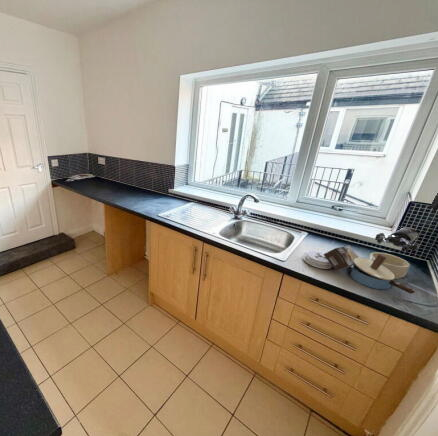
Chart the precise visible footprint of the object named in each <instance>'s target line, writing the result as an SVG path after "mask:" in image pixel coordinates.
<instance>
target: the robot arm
mask: <svg viewBox="0 0 438 436" xmlns="http://www.w3.org/2000/svg"><path fill="white" fill-rule="evenodd" d="M431 206H432V208H433V210H434V211H436V209H437V208H438V193H437V195H436V196H435V198H434V200H433V202H432V205H431ZM417 237H418V232H417V231H416V230H415V229H414V228H412V227H403V228H401V229H400V230H398V229H397V230H395V231H394V232H392V233H391V234H390V235H385V233H383V232H380V233H377V234H376V235H375V238H374V240H375V241H376V243H377V244H381V243H385V244H392V245H393V246H395V247H398V248H402V249H401V251H404V252H405V251H409V250H411V251H412V252H416V251H417V250H418V249H419V247H420V244H421V243H420V242H416V240H415V239H416V238H417ZM414 241H415V242H414Z"/></svg>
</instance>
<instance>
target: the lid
mask: <svg viewBox="0 0 438 436" xmlns="http://www.w3.org/2000/svg"><path fill="white" fill-rule="evenodd" d="M325 253H326V252H323V251H319V250H313V249H311V250H306V251H305V252H304V256H303V261H304V262H305V263H306V264H308V265H310V266H312V267H314V268H317V269H323V270H330V269H333V267H332V265H331V264H330V263H329V261H328V260H327V259H326V257H325V256H324V254H325Z"/></svg>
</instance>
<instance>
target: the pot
mask: <svg viewBox="0 0 438 436" xmlns="http://www.w3.org/2000/svg"><path fill="white" fill-rule="evenodd" d="M379 253H381V254H384V255H386V256H387V258H386V259H385V260H384V262H383V263H382V264H381V265H382V266H384V267H386V268H387V269H389V270H390V271H391V272H392V273H393V274H394V276H395V278H394V279H393V280H402V279H403V278H404V277H406V276H407V274H408V271H409V269H410V266H411V264H410V262H409V261H407V260H405V259H404V258H402V257H399V256H397V255H393V254H389V253H386V252H375V251H374V252H371V253H370V255H369V257H368V260H371V261H374V260H375V258H376V257H377V256H378V254H379Z"/></svg>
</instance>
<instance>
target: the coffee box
mask: <svg viewBox="0 0 438 436" xmlns="http://www.w3.org/2000/svg"><path fill="white" fill-rule="evenodd" d="M324 253H325V254H324V256H325V257H326V259H327V260H328V261H329V263H330V264H331V265H332V269H333V270H334V271H335V272H338V271H341V270H344V269H347V268H350V267H353V266H354V265H355V264H354V262H353V260H354V259H355V258H360V257H359V255H358V254H357V253H356V252H355V250H354V249H353V248H352V246H351V245H345V246H344V245H343V246H340V247H335V248H333V249H331V250H329V251H327V252H324Z"/></svg>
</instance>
